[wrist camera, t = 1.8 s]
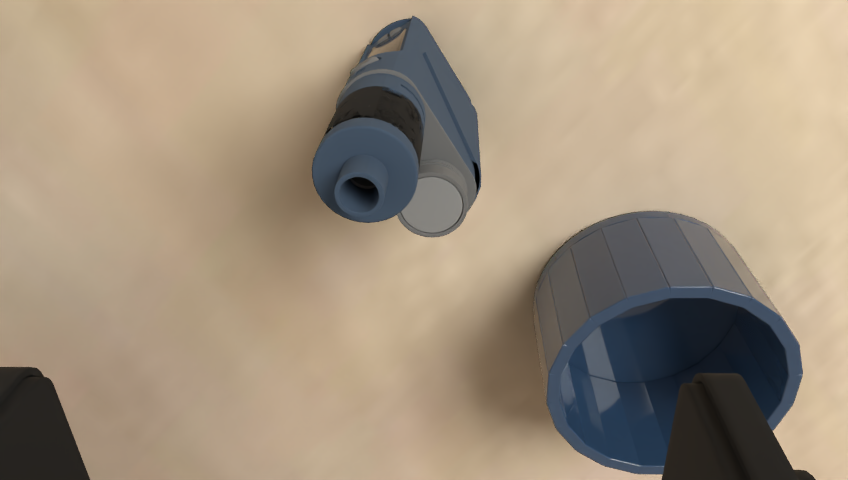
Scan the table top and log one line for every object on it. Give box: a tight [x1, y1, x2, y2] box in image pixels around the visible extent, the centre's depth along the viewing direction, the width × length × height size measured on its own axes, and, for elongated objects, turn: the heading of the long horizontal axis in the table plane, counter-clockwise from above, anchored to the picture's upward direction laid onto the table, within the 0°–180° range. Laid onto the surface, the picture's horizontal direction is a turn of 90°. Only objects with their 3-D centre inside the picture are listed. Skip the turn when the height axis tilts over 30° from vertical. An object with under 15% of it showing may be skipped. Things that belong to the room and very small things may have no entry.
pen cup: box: [533, 211, 803, 475], centre depth 27 cm, size 9×9×6 cm
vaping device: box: [312, 16, 481, 237], centre depth 20 cm, size 3×5×12 cm, turn 32°
